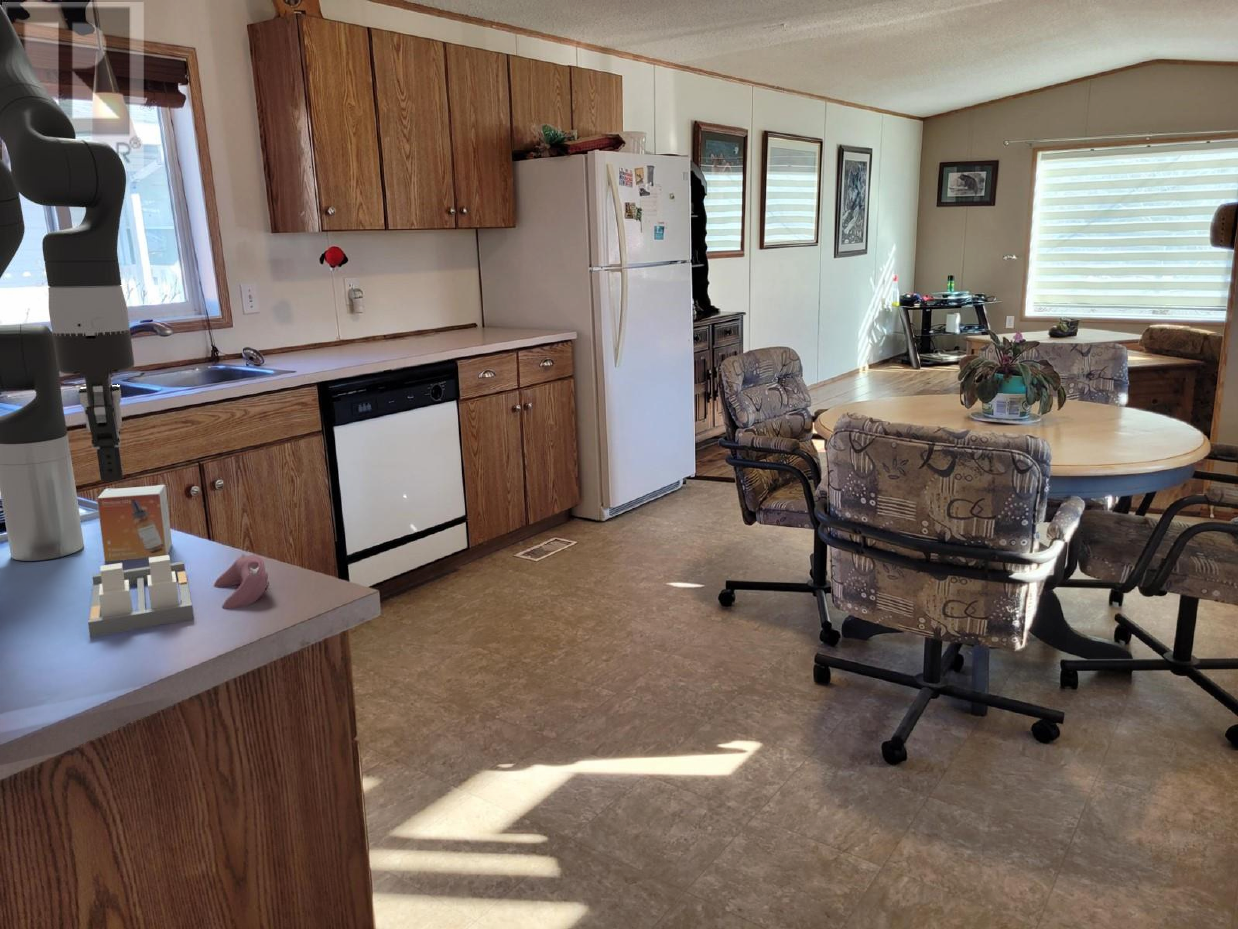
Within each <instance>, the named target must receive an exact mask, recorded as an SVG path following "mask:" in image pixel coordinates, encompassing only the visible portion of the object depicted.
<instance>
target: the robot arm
mask: <svg viewBox="0 0 1238 929" xmlns="http://www.w3.org/2000/svg"><path fill="white" fill-rule="evenodd" d="M76 135H77V134H76V131H75V127H74V126H73V123H72V122H71V120H70V118H69V117H68V116H67V114H66V113H65V111H63V109H62V108H61V106H59V104H58V103H57V102H56V100H55V99H54V98H53V96H52V95H51V94H50V93H49V91H47V89H46V88H45V86H44V85H43V83H42V82H41V81H40V79H39V77H38V76H37V73H36V70H35V68H34V67H33V64H32V62H31V60H30V58H29V56H28V54H27V51H26V50H25V48H24V46H23V43H22V42H21V40H20V37H19V36H18V33H17V31H16V30H15V28H14V25H13V23H12V21H11V20H10V18H9V16H8V15H7V12H6V11H5V10H4V8H3V6H2V5H1V4H0V139H1V140H2V141H3V143H4V146H5V149H6V150H7V155H8V157H9V164H10V169H9V167H8V166H7V165H6V163H5V162H4V161H3V160H2V159H1V158H0V279H1V278H2V277H3V275H4V273H5V272H6V270H7V268H8V267H9V266H10V264H11V262H12V261H13V259H14V258H15V255H16V254H17V252H18V250H19V248H20V246H21V244H22V242H23V240H24V236H25V231H26V230H25V228H26V226H25V220H24V215H23V209H22V203H21V196H23V197H24V199H26V200H28V201H30V202H32V203H34V204H36V205H39V206H40V205H41V206H45V207H61V208H62V207H63V208H65V207H66V208H67V207H68V208H69V207H70V208H85V213H84V216H83V219H82V221H81V223H80V224H79V225H77V226H76V227H72V228H71V227H70V228H66V229H60V230H54V231H51V232H49V233H46V234H45V235H44V237H43V238H42V243H41V244H42V247H41V248H42V254H43V261H44V267H45V273H46V282H47V287H48V288H47V290H48V291H47V292H48V313H49V315H48V316H49V320H50V328H51V329H50V328H49V327H48V326H47V325H46V324H40V323H39V324H38V323H37V324H36V323H33V324H31V323H30V324H27V323H26V324H3V325H1V324H0V393H4V392H7V393H8V392H9V393H10V392H20V391H21V392H22V391H23V392H24V391H25V392H26V391H34V392H35V397H33V399H32V400H31V401H30V402H28V403H27V404H26V405H25V406H23V407H21V408H19V409H16V410H14V411H11V412H10V413H6V414H4V415H1V416H0V498H1V503H2V504H1V506H2V510H3V515H4V517H3V518H4V523H5V528H6V535H7V542H8V547H9V553H10V557H11V559H13V560H16V561H22V562H23V561H24V562H35V561H45V560H52V559H57V558H60V557H61V558H62V557H66V556H68V555H72V554H74V553H76V552H78V551H81V550H82V549H83V548H84V546H85V543H84V536H83V529H82V524H81V514H80V508H79V503H78V495H77V488H76V482H75V476H74V475H75V474H74V468H73V462H72V455H71V448H70V441H69V436H68V428H67V422H66V416H65V413H64V412H65V411H64V406H63V398H62V397H63V396H62V388H61V377H60V375H61V374H62V373H63V374H66V375H67V374H68V375H76V374H81V375H82V376H84V379H85V387H79V388H80V389H79V390H78V394H79V395H78V396H79V401H80V402H79V404H80V405H81V407H82V408H83V412H84V413H83V414H84V419H85V427H86V429H87V430H88V431H90V436H91V445H92V447H93V448H94V450H95V451H96V456H97V461H98V468H99V476H100V480H101V481H102V482H104V483H105V482H106V483H108V482H117V481H121V480H122V479H123V476H124V473H123V472H124V471H123V465H122V458H121V451H120V450H121V449H120V448H121V445H122V439H121V437H120V435H121V434H122V433H121V430H120V428H122V422H123V420H122V419H123V418H122V412H121V405H120V403H121V402H122V401H121V399H122V393H121V392H122V391H121V387H120V386H121V385H120V384H119V385H118V384H117V385H115V384H114V385H113V384H112V376H111V374H112V373H114V372H117V373H118V372H123V371H129V370H131V369H132V368H133V367H134V366H135V359H134V351H133V342H132V336H131V328H130V320H129V313H128V306H127V302H126V298H125V295H124V290H123V286H122V277H121V271H120V263H119V255H118V242H119V232H120V224H121V216H122V212H123V211H122V210H123V205H124V199H125V194H126V188H127V175H126V173H127V172H126V169H125V165H124V163H123V161H122V159H121V157H120V155H119V154H118V152H116V150H115V149H114V148H113V147H112V146H110V145H109V144H107V143H106V142H101V141H97V140H89V139H77V137H76ZM20 195H21V196H20Z"/></svg>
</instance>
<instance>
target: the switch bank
mask: <svg viewBox="0 0 1238 929" xmlns="http://www.w3.org/2000/svg"><path fill="white" fill-rule="evenodd" d="M170 564H171V572H173V571H175V575H176V579H177V582H178V589H179V595H180V602H181V603H179V604H178V605H172V606H165V607H159V608H153V609H151V608H148V609H147V608H146V594H145V593H146V591H145V583H148V577H147V575H151V573H150V566H143V567H136V568H130V569H123V573H124V580H129V586H130V585H137V610H136V611H133V612H129V613H123V614H117V615H111V616H105V617H102V613H101V606H100V599H99V588H100V584H102V580H101V573H96V574H92V582H93V584H92V594H91V604H90V605H91V606H90V613H89V614H90V615H89V616H90V617H89V619H88V620H87V624H88V632H89V636H90V637H97V636H103V635H108V634H109V635H110V634H114V633H115V634H116V633H121V632H126V631H131V630H132V631H133V630H139V629H144V628H149V627H150V628H151V627H154V626H162V625H167V624H172V623H179V622H184V621H189V620H194V619H195V617H194V610H193V603H192V602H193V601H192V599H191V595H190V588H189V583H188V578H187V573H186V566H185V561H178V562H170Z"/></svg>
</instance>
